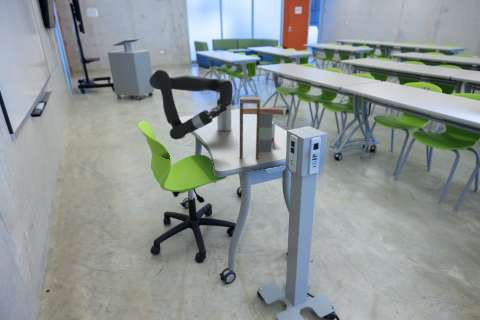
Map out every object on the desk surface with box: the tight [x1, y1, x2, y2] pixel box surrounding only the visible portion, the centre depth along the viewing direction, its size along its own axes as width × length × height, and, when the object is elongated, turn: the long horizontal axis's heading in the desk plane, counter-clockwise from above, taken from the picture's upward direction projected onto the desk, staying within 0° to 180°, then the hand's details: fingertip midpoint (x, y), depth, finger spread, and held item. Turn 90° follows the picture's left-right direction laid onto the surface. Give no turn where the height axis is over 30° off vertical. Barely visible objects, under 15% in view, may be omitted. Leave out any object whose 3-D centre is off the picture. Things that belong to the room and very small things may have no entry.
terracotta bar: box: [243, 106, 285, 116], centre depth 168 cm, size 3×22×3 cm, turn 87°
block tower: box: [259, 114, 274, 152], centre depth 173 cm, size 6×8×21 cm
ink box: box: [271, 120, 276, 143], centre depth 188 cm, size 9×5×12 cm, turn 100°
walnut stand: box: [239, 96, 261, 160], centre depth 161 cm, size 6×10×32 cm, turn 87°
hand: (226, 105), depth 168 cm, fingers open, 8 cm apart
